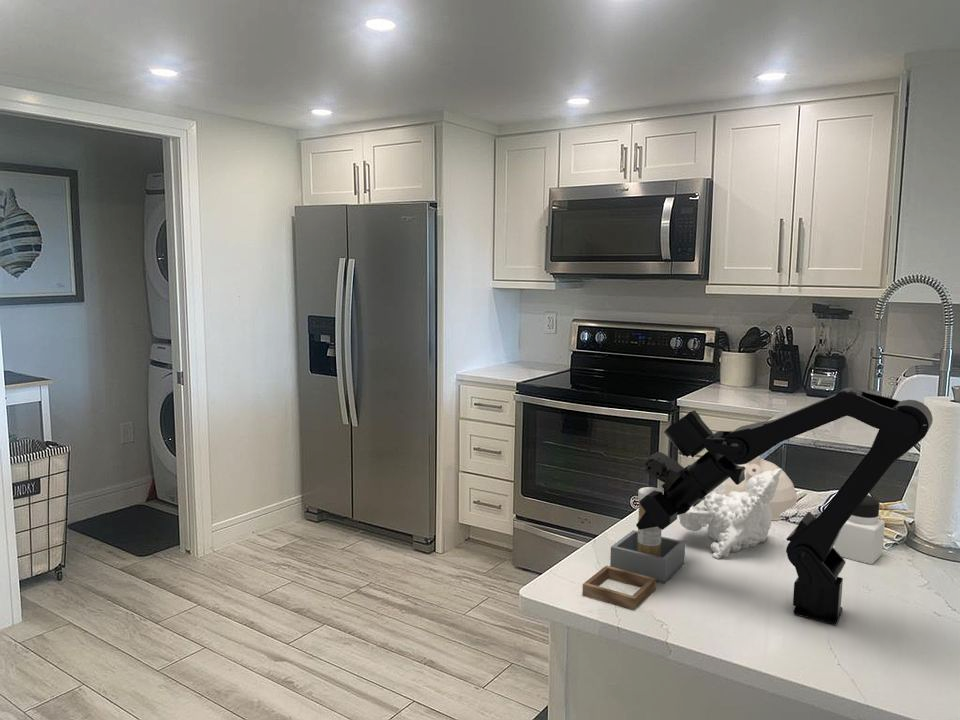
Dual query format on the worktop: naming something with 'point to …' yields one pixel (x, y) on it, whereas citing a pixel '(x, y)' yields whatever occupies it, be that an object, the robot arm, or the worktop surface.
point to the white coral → (735, 514)
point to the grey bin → (648, 557)
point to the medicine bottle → (862, 533)
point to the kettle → (784, 491)
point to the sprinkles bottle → (648, 529)
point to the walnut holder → (619, 598)
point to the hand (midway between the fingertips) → (643, 523)
